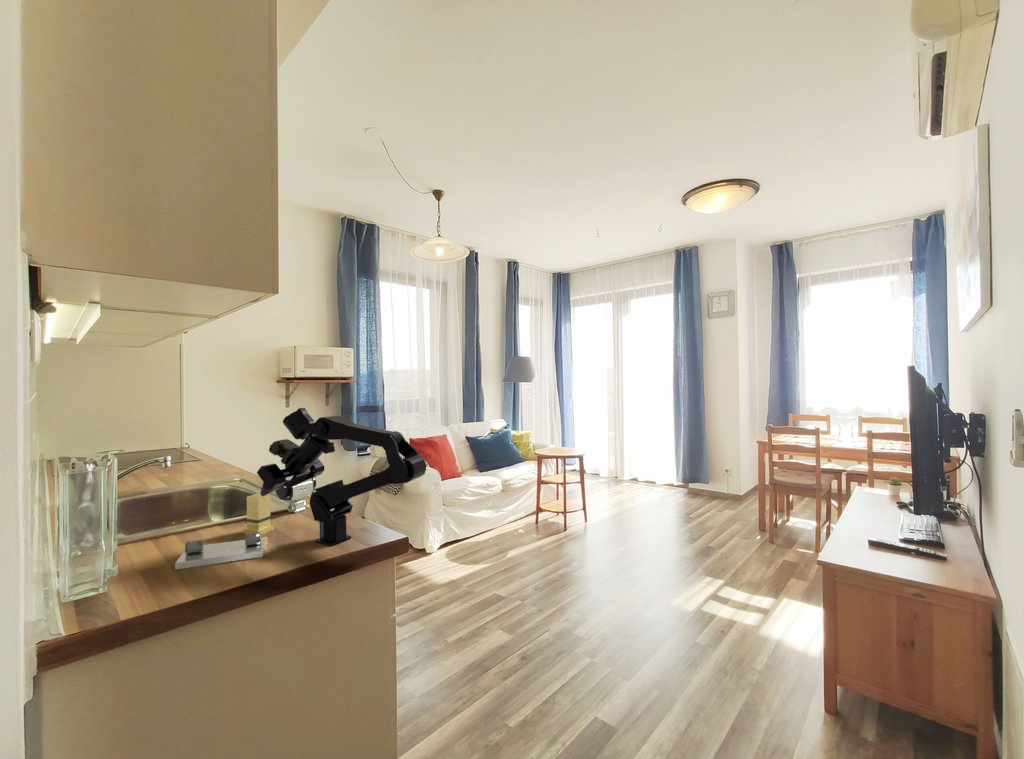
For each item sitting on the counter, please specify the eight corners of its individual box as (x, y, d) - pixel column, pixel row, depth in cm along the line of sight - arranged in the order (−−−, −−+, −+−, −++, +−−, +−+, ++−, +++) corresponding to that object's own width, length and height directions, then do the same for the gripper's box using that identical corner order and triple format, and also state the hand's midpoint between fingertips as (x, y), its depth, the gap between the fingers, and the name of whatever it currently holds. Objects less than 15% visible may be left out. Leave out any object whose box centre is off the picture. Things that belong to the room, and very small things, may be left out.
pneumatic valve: (275, 515, 138) (274, 476, 138) (306, 505, 149) (306, 469, 148) (288, 517, 136) (287, 478, 136) (318, 507, 146) (318, 470, 146)
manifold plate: (267, 542, 115) (267, 526, 115) (262, 557, 106) (262, 539, 106) (187, 553, 108) (187, 535, 108) (175, 569, 99) (175, 550, 99)
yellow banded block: (273, 529, 126) (273, 493, 125) (258, 535, 121) (258, 498, 120) (259, 527, 127) (258, 492, 127) (243, 533, 122) (243, 497, 122)
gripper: (315, 426, 129) (285, 462, 133) (262, 434, 111) (228, 476, 115) (339, 454, 127) (307, 490, 130) (288, 467, 109) (253, 509, 112)
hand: (275, 490), depth 122 cm, fingers open, 9 cm apart
